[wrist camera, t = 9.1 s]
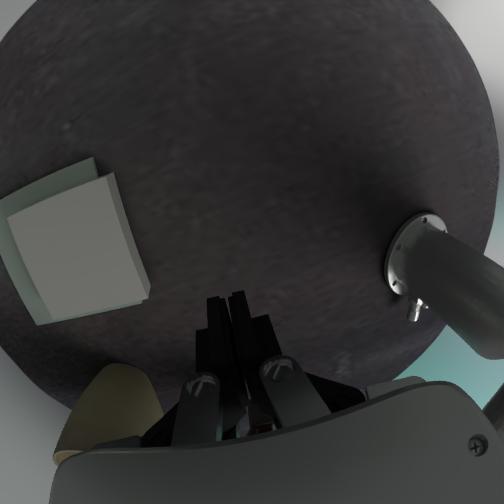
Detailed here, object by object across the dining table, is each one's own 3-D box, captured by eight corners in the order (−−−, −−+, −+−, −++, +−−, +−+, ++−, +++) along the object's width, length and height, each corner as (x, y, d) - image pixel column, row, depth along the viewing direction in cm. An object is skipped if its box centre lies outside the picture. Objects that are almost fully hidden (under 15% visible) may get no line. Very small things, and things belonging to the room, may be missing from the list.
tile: (148, 298, 25) (53, 319, 24) (150, 284, 27) (61, 305, 26) (105, 176, 20) (6, 217, 18) (114, 171, 22) (19, 209, 21)
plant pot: (195, 393, 37) (208, 490, 22) (119, 414, 36) (115, 497, 22) (136, 326, 30) (122, 447, 16) (57, 357, 29) (28, 451, 15)
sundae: (275, 385, 39) (307, 466, 26) (232, 392, 38) (254, 479, 25) (278, 357, 37) (317, 447, 23) (230, 364, 35) (255, 462, 22)
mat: (142, 300, 29) (141, 303, 28) (38, 323, 27) (37, 325, 26) (93, 156, 21) (91, 157, 21) (-14, 208, 19) (-16, 209, 19)
